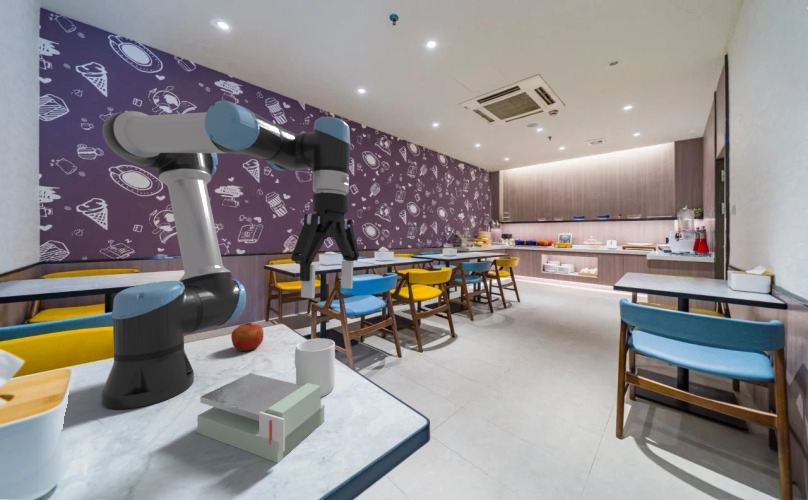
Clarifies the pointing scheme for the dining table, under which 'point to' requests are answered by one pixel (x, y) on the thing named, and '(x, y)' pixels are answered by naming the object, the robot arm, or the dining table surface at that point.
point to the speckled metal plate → (249, 395)
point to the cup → (316, 364)
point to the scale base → (268, 424)
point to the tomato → (247, 336)
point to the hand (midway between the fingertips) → (329, 292)
